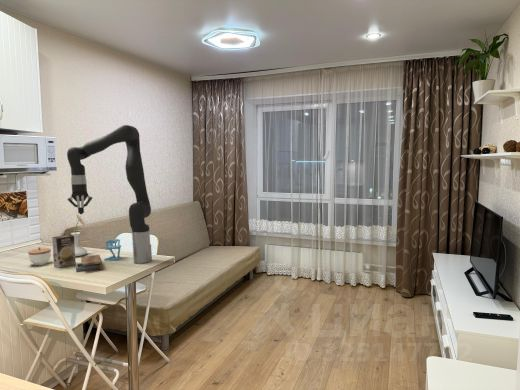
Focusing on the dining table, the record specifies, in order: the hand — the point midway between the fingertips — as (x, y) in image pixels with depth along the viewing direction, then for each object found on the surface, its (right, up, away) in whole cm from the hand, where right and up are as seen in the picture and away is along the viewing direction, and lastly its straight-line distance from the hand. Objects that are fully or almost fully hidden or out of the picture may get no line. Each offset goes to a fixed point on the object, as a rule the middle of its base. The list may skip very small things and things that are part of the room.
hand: (81, 214), depth 204 cm
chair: (+16, -26, +7) cm, 31 cm away
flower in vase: (-10, -26, +16) cm, 32 cm away
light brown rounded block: (+11, -28, -11) cm, 32 cm away
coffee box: (-6, -28, -5) cm, 29 cm away
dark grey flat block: (+9, -28, -12) cm, 32 cm away
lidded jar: (-22, -28, -1) cm, 36 cm away
